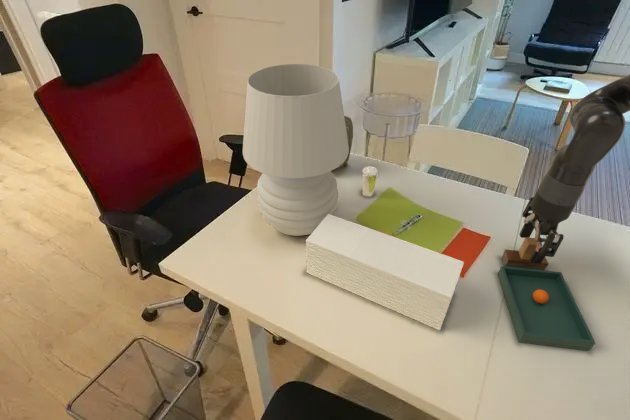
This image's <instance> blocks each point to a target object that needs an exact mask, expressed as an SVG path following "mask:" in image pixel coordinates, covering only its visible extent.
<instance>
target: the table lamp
mask: <svg viewBox="0 0 630 420" xmlns="http://www.w3.org/2000/svg"><path fill="white" fill-rule="evenodd" d="M340 83H341V82H340V79H339V75H337V73H336V72H335V71H333V70H331V69H329V68H325V67H323V66H321V65H314V64H307V63H284V64H277V65H276V64H275V65H270V66H267V67H263V68H260V69H258V70H256V71H254V72H253V73H251V74H250V75H249V76H248V77H247V84H246V99H245V109H244V123H243V124H244V125H243V138H242V139H243V141H242V142H243V143H242V156H243V160H244V161H245V163H246V164H247V165H248V166H249V167H250V168H252V169H253V170H255V171H257V172H259V173H261V175H260V177H259V178H258V179H257V183H256V184H257V186H256V200H257V206H258V210H259V211H260V213H261V214H262V217H263V218H264V220H265V222H266V223H267V224H268V225H269V226H271V227H272V228H273V229H274V230H276V231H278V232H280V233H281V234H283V235H284V234H285V235H288V236H294V237H295V236H298V237H300V236H307V235H311V234H312V232H313V231H314V230H315V229H316V228H317V227H318V225H319V224H320V223H321V222H322V221H323V219H324V218H325V217H326V216H327V215H328V214H331V215H334V212H335V211H336V210H337V207H338V198H339V188H338V182H337V178H336V176H335V174H334V173H333V172H332V171H333V170H335V169H337V168H339V167H341V166H342V165H341V164H342V163H343V162H344V161H345V160H346V158H347V156H348V154H349V146H348V139H347V132H346V125H345V118H344V116H345V112H344V111H345V110H344V104H343V98H342V92H341V84H340Z"/></svg>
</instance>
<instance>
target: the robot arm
mask: <svg viewBox="0 0 630 420" xmlns="http://www.w3.org/2000/svg"><path fill="white" fill-rule="evenodd" d="M628 112H630V74H628V75H625V76H624V77H621V78H618V79H616V80H614V81H612V82H610V83H607V84H605V85H603V86H602V87H600V88H598V89H595V90H594V91H591V92H590V93H589V94H587V95H585V96H584V97H583V98H581V99H580V100H579V101H578V102H577V103H576V104H574V106H573V108H572V109H571V111H570V114H569V122H570V125H571V127H572V128H573V131H574V133H573V136H572V138H571V140H570V142H568V144H565V145H563V146H561V147H560V148H559V149H558V151H557V152H556V153H555V155H554V157H553V160H552V162H551V164H550V166H549V168H548V169H547V172H546V173H545V174H544V176H543V177H542V179H541V181H540V184H539V186H538V188H537V189H536V191H535V194H534V196H532V197H530V198H529V200H528V202H527V204H526V206H525V208H524V210H523V212H522V215H521V216H522V218H524V219H523V226H522V228H521V230H520V232H519V237H520V238H522V239H525V238H526V237H529V238H531V236H532V235H533V231H535V234H534V238H535V240H536V241H537V245H536V249H535V251H534V253H533V255H532V257H531V258H530V261H531V263H537V264H540V263H542V261H543V259H544V257H546V258H547V257H549V258H554V257H555V255H556V254H557V251H558V250H559V248H560V246H561V244H562V242H563V241H564V237H565V236H564V234H563V233H558V228H559V224H560V223H561V222H564V221H566V220H567V219H569V218H570V216H571V214H572V212H573V211H574V209H575V207H576V206H577V203H578V202H579V200H580V198H581V197H582V195H583V193H584V192H585V191H584V190H585V188H586V186H587V184H588V182H589V180H590V178H591V176H592V174H593V173H594V171H595V170H596V169H595V168H596V167H597V165H598V164H599V163H600V162H601V161H602V160H604V158H605V157H607V155H608V154H609V153H610V152H611V151H612V150H613V148H614V147H616V145H617V144H618V143H619V141H620V140H621V138H622V136H623V135H624V131H625V128H626V118H625V116H624V114H625V113H628ZM542 236H545V238H544V237H542ZM541 245H542V247H541Z"/></svg>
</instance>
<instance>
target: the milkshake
mask: <svg viewBox="0 0 630 420" xmlns="http://www.w3.org/2000/svg"><path fill="white" fill-rule="evenodd" d="M380 171H381V169H379V170H378V169H377V168H376V167H374V166H370V165H367V166H365V167H364V168H362V195H363V197H368V198H369V197H370V198H371V197H373V196H374V193H375V187H376V184H377V183H376V182H377V178H378V175H379V172H380Z"/></svg>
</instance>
